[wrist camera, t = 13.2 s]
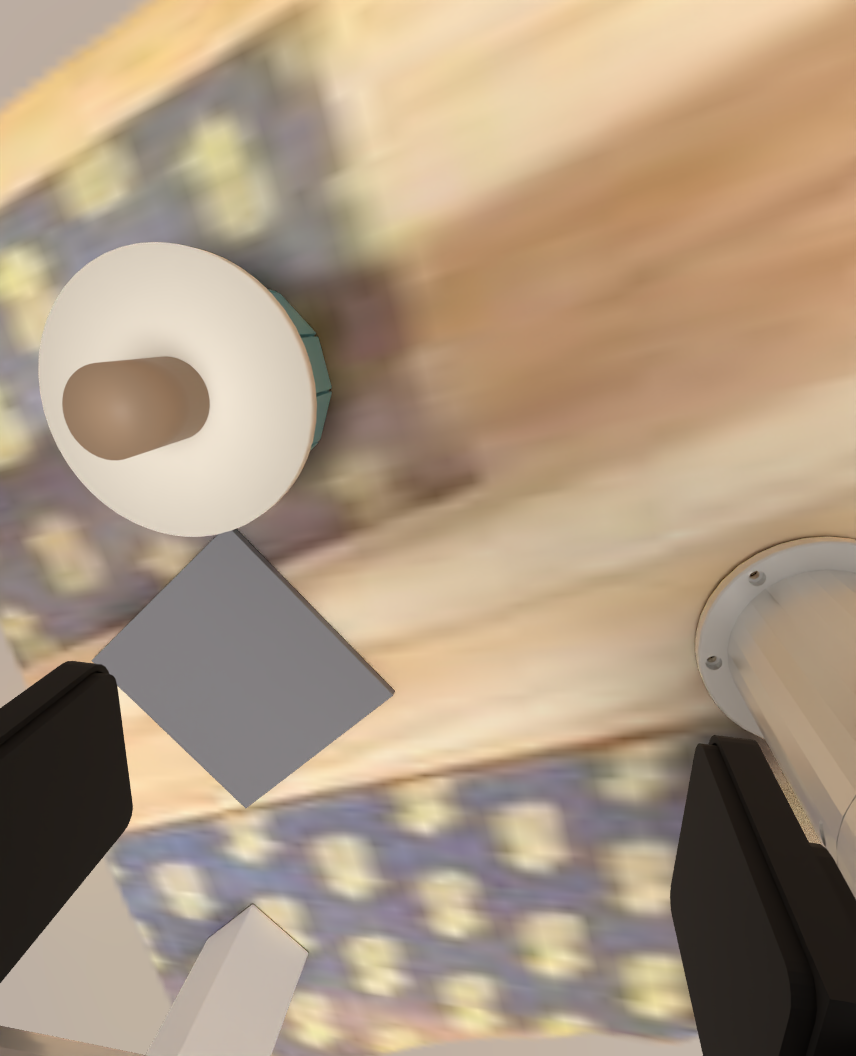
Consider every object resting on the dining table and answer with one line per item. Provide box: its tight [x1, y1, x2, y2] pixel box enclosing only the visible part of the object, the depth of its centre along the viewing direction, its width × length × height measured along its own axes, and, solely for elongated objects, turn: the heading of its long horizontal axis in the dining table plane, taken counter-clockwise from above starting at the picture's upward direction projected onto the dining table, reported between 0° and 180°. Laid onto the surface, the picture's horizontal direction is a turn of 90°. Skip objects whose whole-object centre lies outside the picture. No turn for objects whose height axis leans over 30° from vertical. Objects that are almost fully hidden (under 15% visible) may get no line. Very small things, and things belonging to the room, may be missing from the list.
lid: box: [38, 242, 317, 537], centre depth 30 cm, size 14×14×6 cm
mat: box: [92, 529, 395, 808], centre depth 44 cm, size 15×15×1 cm
